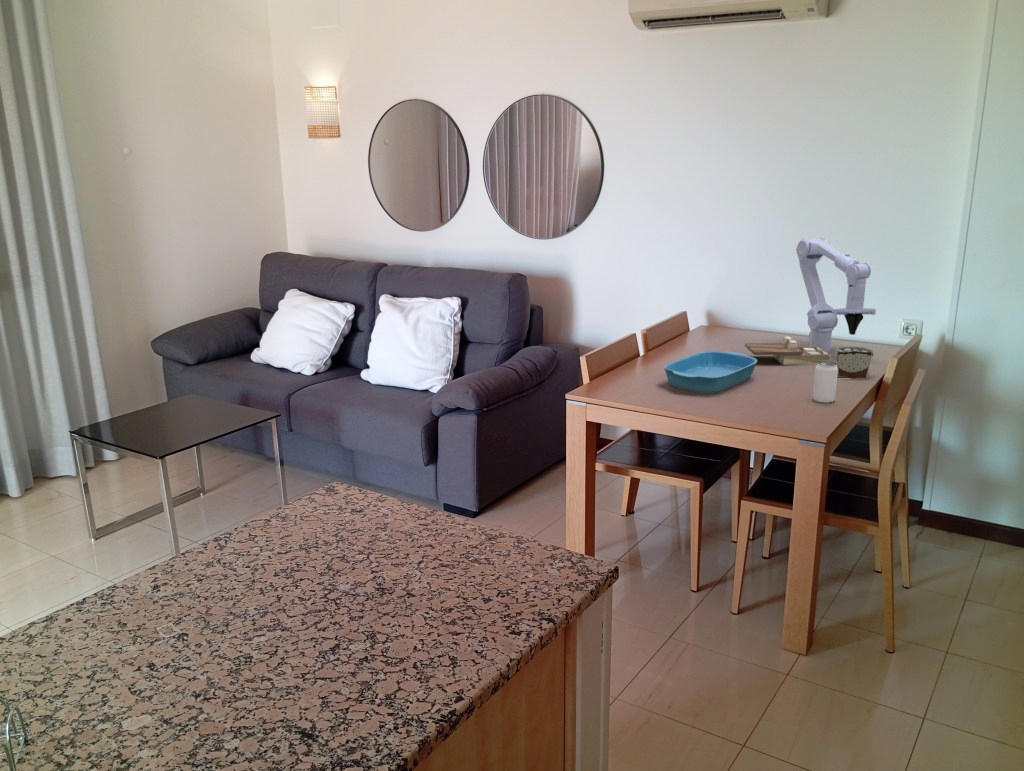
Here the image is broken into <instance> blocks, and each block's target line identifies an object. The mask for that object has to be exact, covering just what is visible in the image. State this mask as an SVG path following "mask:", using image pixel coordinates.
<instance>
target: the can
mask: <svg viewBox="0 0 1024 771" xmlns="http://www.w3.org/2000/svg"><path fill="white" fill-rule="evenodd" d="M817 363H818V364H817V365H815V369H814V378H813V380H814V381H813V389H812V390H813V391H812V400H813V401H815V402H818V403H820V402H822V404H830V403H829V402H832V403H834V402H835V400H836V394H837V393H836V392H837V381H838V378H837V377H838V376H837V373H838V368H837V362H835V361H832V360H829V361H819V362H817ZM833 401H834V402H833Z"/></svg>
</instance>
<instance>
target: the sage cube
mask: <svg viewBox="0 0 1024 771" xmlns="http://www.w3.org/2000/svg"><path fill="white" fill-rule="evenodd" d="M817 354H821V353H818V352H816V351H814V352H807V353H806V355H817Z"/></svg>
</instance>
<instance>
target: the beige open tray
mask: <svg viewBox="0 0 1024 771" xmlns="http://www.w3.org/2000/svg"><path fill="white" fill-rule="evenodd" d="M797 348H798V349H799V350H801V351H802V353H803V348H814V349H815V350H816V352H818V353H821V354H817V355H772V356H773V358H774V359H775V360H776V361H777V362H779V363H780V364H781V365H782V366H817V364H818V363H817V362H819V361H830V354H829V353H826V352H824V351H823V350H822V349H820V348H819V347H808V346H797Z"/></svg>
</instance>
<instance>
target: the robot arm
mask: <svg viewBox="0 0 1024 771" xmlns="http://www.w3.org/2000/svg"><path fill="white" fill-rule="evenodd" d="M795 251H796V255H797V257H798V262H799V267H800V271H801V274H802V275H801V276H802V278H803V282H804V285H805V288H806V292H807V296H808V300H809V302H810V306H811V307H810V309H809V310H808V311H807V313H806V315H807V325H808V327H809V329H810V331H809V333H808V341H807V342H808V343H807V347H819V348H820V349H822V350H823V351H824V352H826V353H827V354H829V353H831V345H832V334H833V331H834V328H836V327H837V326H838V321H839V319H838V318H839V317H838V316H840V315H841V316H843V315H844V318H845V321H846V324H847V327H848V334H849V335H851V336H853V335H856V333H857V330H858V327H859V325H860V324H861V322H862V321H863V319H864V315H872V316H875V315H876V312H877V309H876V308H869V307H868V308H866V307H865V308H864V304H865V303H864V302H865V295H866V294H865V293H866V283H867V279H868V278H869V277H870V275H871V273H872V270H871V267H870V265H869V264H868V263H867V262H859V260H858V259H855V258H854V257H852V256H851V254H850V253H848V252H843V253H841V252H839V251H838V250H837V249H835V247H833V246H832V245H831V244H830V242H829V241H828V240H826V239H825V238H822V237H820V238H809V239H805V238H802V239H800V240H799V242H798V243H797V246H796V248H795ZM823 256H824V257H825V258H827V259H829V260H831V261H833V262H834V263H833V264H834V266H835V267H836V268H837V269H839V270H840V271H842V272H843V273H845V277H846V278H847V280H846V282H847V292H846V294H847V296H846V302H845V303H846V305H845V306H846V307H842V308H833V307H832V306H831V305H829V304H828V303H827V301H826V297H825V295H824V291H823V287H822V283H821V281H820V277H819V274H818V269H817V266H816V265H817V264H818V263H819V262H820V261H821V259H822V258H823Z"/></svg>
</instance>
